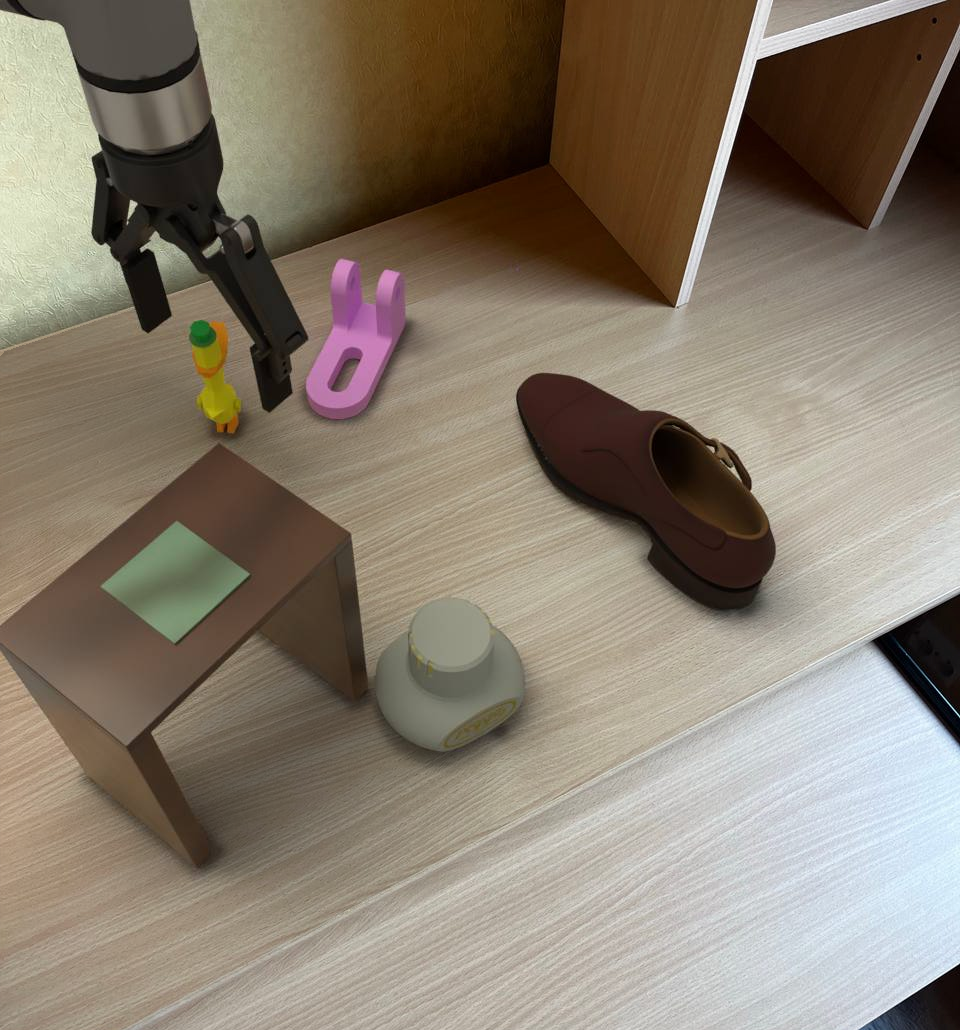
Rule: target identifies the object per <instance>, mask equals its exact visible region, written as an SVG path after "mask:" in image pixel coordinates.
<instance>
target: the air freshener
mask: <svg viewBox="0 0 960 1030" xmlns="http://www.w3.org/2000/svg"><path fill="white" fill-rule="evenodd" d="M525 677H526V676H525V668H524V665H523V662H522V658H521V656H520V654H519V652H518V650H517V648H516V647H515V645H514V644H513V642H512V641H511V640H510V638H509V637H508V636H507V635H506V634H505V633H504V632H503V631H502V630H501V629H499V627H497V626H495V625H494V624H493V623H492V621H491V620H490V616H489V615H488V613H487V612H485V611H484V610H483V609H482V608H481V607H480V606H479V605H477V604H476V603H471V602H470V601H469V600H467V599H464V598H459V597H442V598H438V599H434V600H432V601H430V602H428V603H426V604H425V605H423V606H422V607H420V608H419V609H418V610H417V611H416V613H414V615H413V617H412V618H411V619H410V623H409V626H408V630H407V631H405V632H404V633H402V634H401V635H399V636H398V637H397V638H395V639H393V641H392V642H390V644H388V645H387V646H386V647H385V649H383V650H382V652H381V654H379V658H378V660H377V662H376V666H375V674H374V691H375V696H376V701H377V704H378V706H379V708H380V711H381V713H382V715H383V717H384V718H385V720H386V721H387V722H388V724H389V725H390V726H391V727H392V728H393V729H394V731H395V732H396V733H397V734H399V735H400V736H401V737H403V738H404V739H406V741H409V742H410V743H412V744H415V745H417V746H418V747H421V748H424V749H427V750H431V751H437V752H440V753H442V752H443V753H444V752H449V751H453V750H455V749H458V748H461V747H463V746H466V745H467V744H469V743H472V742H473V741H476V740H478V739H479V738H481V737H482V736H485V735H486V734H488V733H489V732H491V731H492V730H494V729H495V728H497V727H498V726H500V725H501V724H502V723H504V722H505V721H506V720H507V719H509V718H510V717H511V716H512V715H513V714H514V713H515V712H516V711H517V710H518V709H519V708H520V707H521V705H522V703H523V699H524V696H525V690H526V678H525Z"/></svg>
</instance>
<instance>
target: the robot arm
mask: <svg viewBox="0 0 960 1030" xmlns="http://www.w3.org/2000/svg"><path fill="white" fill-rule="evenodd" d="M0 11H3V12H7V13H11V14H15V15H18V16H19V15H20V16H24V17H26V18H30V19H34V20H39V21H49V22H53V23H56V24H58V25H59V26H61V27H62V28H63V30H64V33H65V36H66V40H67V42H68V46H69V48H70V51H71V55H72V57H73V61H74V63H75V67H76V70H77V74H78V78H79V80H80V84H81V89H82V91H83V95H84V98H85V102H86V105H87V108H88V112H89V115H90V118H91V121H92V124H93V127H94V129H95V131H96V133H97V136H98V137H97V139H98V142H99V145H100V148H101V150H100V151H98V152H97V153H95V154H94V155H92V156H91V164H92V166H93V171H94V176H95V179H96V180H95V191H94V201H93V210H92V211H93V212H92V222H91V231H90V233H91V237H92V239H93V240H94V242H96V244H98V245H99V246H104V245H105V244H106V245H107V246H108V247H109V253H110V254H111V255H110V256H111V257H112V258H113V260H115V261H116V262H118V263H119V266H120V268H121V272H122V275H123V279H124V281H125V284H126V285H127V288H128V292H129V295H130V298H131V300H132V304H133V306H134V309H135V313H136V317H137V320H138V322H139V325H140V328H141V330H142V331H143V332H145V333H146V334H148V335H149V334H150V333H151V332H153V331H154V330H156V329H157V328H158V327H160V325H161V326H162V324H164V322H166V321H167V320H169V319H170V318H171V317H172V316H173V314H172V310H171V307H170V302H169V300H168V297H167V293H166V289H165V285H164V282H163V279H162V274H161V271H160V268H159V264H158V261H157V257H156V253H155V252H154V251H153V250H151V249H149V248H145V249H144V250H143V251H142V250H141V249H142V248H143V247H144V246H146V245H148V243H150V242H152V239H151V237H152V236H153V235H154V234H155V233H157V234H158V236H159V238H160V239H161V240H162V241H164V242H166V243H169V244H172V245H174V246H175V247H177V248H178V249H179V250H181V252H182V253H184V254H185V255H186V256H187V258H188V259H189V260H190V262H191V263H192V265H193V266H194V268H195V269H196V271H197V272H198V273H199V274H201V275H207V276H208V277H209V278H210V280H211V282H212V283H213V284H214V286H215V287H216V289H217V290H218V292H219V294H221V296H222V297H223V299H224V301H225V302H226V303H227V305H228V307H229V308H230V309H231V311H232V312H233V314H234V315H235V316H236V318H237V319H238V321H239V323H240V324H241V326H242V327H243V328H244V330H245V331H246V333H247V334H248V336H249V338H250V339H251V340H252V342H253V344H252V345H250V346H249V353H250V358H251V361H252V367H253V371H254V376H255V381H256V385H257V390H258V394H259V400H260V404H261V409H262V410H264V411H265V412H267V413H268V414H270V413H271V412H273V411H274V410H275V409H277V407H279V406H280V405H281V404H282V403H284V401H286V400H287V399H288V398H289V397H290V396H291V395H293V394H294V390H293V386H292V385H293V384H292V379H291V374H292V371H293V366H292V361H291V356H292V354H294V353H295V352H296V351H297V350H299V349H301V347H302V346H304V345H305V344H306V343H307V342H308V341H309V336H308V334H307V333H308V332H307V331H306V329H305V327H304V324H303V323H302V321H301V319H300V317H299V314H298V313H297V311H296V309H295V306H294V304H293V303H292V301H291V298H290V297H289V295H288V293H287V291H286V288H285V287H284V284H283V282H282V280H281V278H280V277H279V275H278V273H277V270H276V268H275V266H274V264H273V262H272V260H271V258H270V256H269V254H268V252H267V250H266V248H265V246H264V241H263V238H262V234H261V230H260V227H259V224H258V222H257V220H256V219H255V217H253V215H250V214H246V215H244V216H243V217H241V218H240V219H239V220H238V219H237V218H233V217H232V216H229V215H227V212H226V209H225V208H224V205H223V203H222V202H221V199H220V198H219V197H220V196H219V195H218V190H219V185H220V182H221V178H222V176H223V172H224V157H223V151H222V146H221V141H220V137H219V131H218V127H217V124H216V123H217V122H216V119H215V116H214V114H213V105H212V101H211V95H210V91H209V86H208V82H207V77H206V73H205V68H204V63H203V58H202V54H201V48H200V42H199V35H198V32H197V30H196V26H195V21H194V17H193V16H194V15H193V9H192V5H191V0H0ZM131 201H132V202H134V203H136V205H135V207H134V208H133V212H132V213H131V215H129V212H130V205H131ZM218 238H219V239H220V241H221V245H219V249H217V250H216V251H215V252H214V253H212V254H211V255H210V256H208V257H206V255H205V254H204V253H203V252H205V251H207V249H208V248H210V247H211V246H213V245H214V244H215V242H216V241H217V239H218Z"/></svg>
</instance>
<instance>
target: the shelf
mask: <svg viewBox="0 0 960 1030" xmlns="http://www.w3.org/2000/svg"><path fill="white" fill-rule="evenodd" d="M360 607H361V606H360V598H359V590H358V581H357V571H356V562H355V554H354V546H353V537H352V533H351V532H350V531H349V530H347V529H345V528H344V527H342V526H341V525H340V524H339V523H337V522H336V521H334V520H333V519H331V518H330V517H328V516H326V515H325V514H324V513H322V512H321V511H319V510H318V509H316V508H315V507H313V506H312V505H311V504H310V503H308V502H306V501H305V500H303V499H302V498H300V497H299V496H298V495H296V494H295V493H293V492H292V491H290V490H289V489H287V488H286V487H284V485H282V484H280V483H279V482H277V481H276V480H274V479H273V478H271V476H268V475H267V474H265V473H264V472H263V471H262V470H260V469H259V468H256V466H255V465H252V464H251V463H250V462H248V461H247V460H245V459H244V458H242V457H241V456H239V455H238V454H236V453H235V452H233V450H231V449H229V448H228V447H226V446H225V445H224V444H222V443H220V442H218V443H217V444H215V445H214V446H213V447H212V448H210V450H208V451H207V452H206V453H204V454H203V455H202V456H201V457H199V458H198V460H197V461H195V462H194V463H193V464H192V465H190V466H189V467H188V468H187V469H186V470H184V471H183V472H182V473H180V474H179V476H177V477H176V478H174V479H173V480H172V481H171V482H170V483H169V484H168V485H166V486H165V487H163V488H162V489H161V490H160V491H159V492H158V493H157V494H156V495H155V496H153V497H152V498H150V500H148V501H147V502H146V503H145V504H143V505H142V506H141V507H140V508H138V510H137V511H135V512H133V514H131V516H129V517H128V518H127V519H126V520H124V521H123V522H122V523H121V524H120V525H119V526H117V527H116V528H115V529H113V531H111V532H110V533H109V534H108V535H106V536H105V537H104V538H103V539H102V540H100V541H99V542H98V543H97V544H96V545H94V547H92V548H91V549H90V550H88V551H87V552H86V553H85V554H84V555H82V556H81V557H80V558H79V559H78V560H77V561H76V562H74V563H73V564H72V565H71V566H70V567H68V568H67V569H66V570H65V571H63V572H62V573H61V574H60V575H59V576H57V577H56V578H55V579H54V580H53V581H52V582H50V583H49V584H48V585H47V586H46V587H45V588H43V589H42V590H41V591H40V592H38V593H37V594H36V595H35V596H33V597H32V598H31V599H30V600H29V601H28V602H26V603H25V604H24V605H23V606H22V607H21V608H19V609H18V610H16V612H14V613H13V614H12V615H11V616H10V617H8V618H7V619H6V620H5V621H4V622H2V623H1V624H0V652H1V654H2V655H3V657H4V658H5V660H6V661H7V663H8V664H9V666H10V667H11V668H12V670H13V671H14V673H15V674H16V675H17V677H18V678H19V680H20V681H21V683H22V684H23V686H24V687H25V688H26V690H27V691H28V692H29V694H30V696H31V697H32V698H33V700H34V701H35V703H36V704H37V705H38V707H39V708H40V710H41V711H42V713H43V714H44V715H45V717H46V718H47V720H48V721H49V723H50V724H51V725H52V727H53V729H55V732H56V733H57V734H58V736H59V737H60V739H61V740H62V741H63V743H64V744H65V746H66V747H67V749H68V750H69V751H70V753H71V754H72V756H73V757H74V759H75V760H76V762H77V763H78V765H79V766H80V767H81V769H82V770H83V772H84V773H85V774H86V776H87V777H88V778H89V779H91V780H92V782H94V783H95V784H96V785H97V786H99V787H100V788H101V789H102V790H103V791H105V792H106V793H107V794H108V795H109V796H111V797H112V798H113V799H114V800H115V801H116V802H118V803H119V804H120V805H121V806H122V807H124V808H125V809H126V810H127V811H128V812H129V813H131V814H132V815H133V816H134V817H135V818H136V819H138V820H139V821H140V822H141V823H143V824H144V825H145V826H146V827H147V828H148V829H149V830H151V831H152V832H153V833H154V834H156V835H157V836H158V837H159V838H160V839H161V840H162V841H164V842H165V844H167V845H169V847H171V848H172V849H173V850H174V851H176V852H177V853H178V854H179V855H180V856H181V857H183V858H184V859H185V860H186V861H187V862H188V863H189V864H191V865H192V866H193V867H194V868H195V869H197V868H199V867H200V865H201V864H203V862H205V860H206V859H207V858H209V856H210V855H211V854H212V853H213V847H211V845H210V842H209V841H208V839H207V837H206V834H205V833H204V831H203V829H202V828H201V826H200V823H199V821H198V820H197V817H196V816H195V814H194V812H193V810H192V808H191V806H190V804H189V802H188V801H187V799H186V796H185V795H184V792H183V791H182V789H181V787H180V785H179V783H178V781H177V779H176V778H175V776H174V774H173V772H172V770H171V768H170V766H169V764H168V762H167V760H166V758H165V756H164V754H163V753H162V750H161V749H160V747H159V745H158V742H157V741H156V739H155V737H154V736H153V734H152V732H153V731H155V730H156V728H157V727H159V726H160V724H162V723H163V722H164V721H165V720H166V719H167V718H168V717H169V716H170V715H171V714H172V713H173V712H174V711H175V710H176V709H178V707H179V706H180V705H182V704H183V703H184V702H185V701H186V700H187V699H188V698H189V697H190V696H191V695H192V694H193V693H194V692H195V691H196V690H197V689H198V688H199V687H200V686H201V685H203V683H204V682H206V681H207V680H208V679H209V678H210V677H211V676H212V675H213V674H214V673H215V672H216V671H217V670H218V669H219V668H220V667H221V666H222V665H224V663H226V662H227V661H228V660H229V659H230V658H231V657H232V656H233V655H234V654H235V653H236V652H237V651H238V650H239V649H240V648H241V647H242V646H243V645H245V644H246V642H247V641H249V640H250V639H251V638H252V637H253V636H254V635H255V634H256V633H257V632H260V633H261V634H262V635H264V636H265V637H266V638H267V639H269V640H270V641H271V642H273V643H274V644H275V645H277V646H278V647H279V648H281V649H282V650H283V651H285V652H286V653H288V654H289V655H290V656H292V657H293V658H294V659H295V660H297V661H298V662H300V663H301V664H302V665H303V666H305V667H307V668H308V669H309V670H311V672H313V673H315V674H316V675H317V676H319V678H321V679H322V680H324V681H325V682H327V684H329V685H331V686H332V687H333V688H335V689H336V690H337V691H339V692H340V693H341V694H342V695H344V696H346V697H347V698H348V699H350V700H351V701H352V702H353V703H356V702H357V701H358V700H359V699H360V698H361V697H362V696H363V695H364V693H366V691H367V690H368V689H369V688H370V687H369V679H368V671H367V661H366V651H365V643H364V634H363V625H362V618H361V617H362V616H361V609H360Z"/></svg>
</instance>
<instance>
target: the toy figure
mask: <svg viewBox="0 0 960 1030" xmlns="http://www.w3.org/2000/svg"><path fill="white" fill-rule="evenodd" d="M189 329H190V332H189V334H188V340H189V342H190V344H191V346H192V354H191V355H192V356H191V357H192V359H193V362H194V366H195V368H196V371H197V374H198V375H199V376H201V378H202V380H203V382H204V385H205V386H204V388H203V389H202V390H201V391H200V392H199V395H196V405H197V408H198V410H199V411H202V410H203V412H204V416H205V418H207V419H209V420H211V421H213V422H215V424H216V432H217V433H224V432H225V429H226V427H227V431H226V432H227V434H234V433H235V432H236V429H237V427H238V426H239V422H240V421H239V416H238V414H239V413H240V412H241V411H242V404H243V403H242V402H243V401H242V398H241V397H237V395H236V392H235V389H234V386H233V385H231V384H229V383H227V382H225V372H224V365H225V364H226V360H227V355H228V347H229V335H228V331H227V327H226V325H225V323H224V322H223V321H211V322H209V321H207V320H204V319H199V320H194V321H193V322H192V323H191V325H190V326H189Z"/></svg>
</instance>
